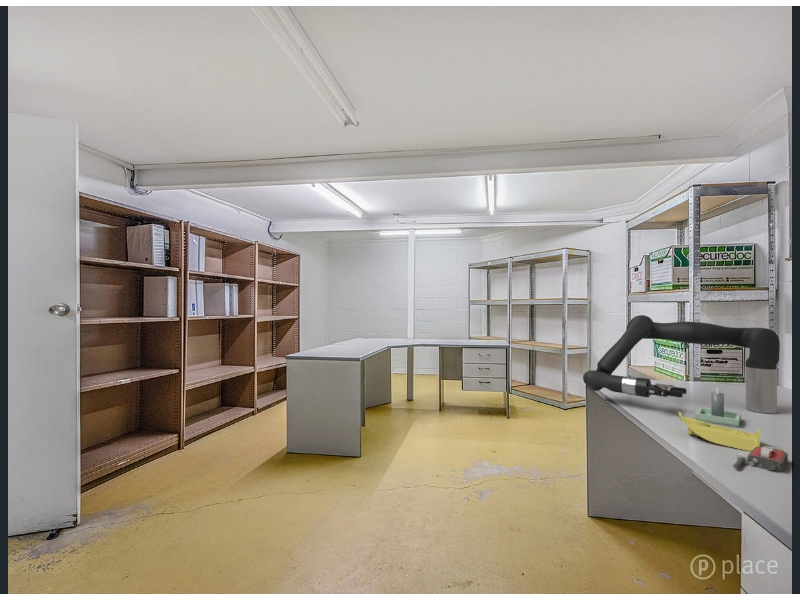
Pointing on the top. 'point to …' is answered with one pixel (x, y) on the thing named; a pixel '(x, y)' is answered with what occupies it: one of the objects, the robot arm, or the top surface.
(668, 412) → the top surface
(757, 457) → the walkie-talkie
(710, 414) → the tray
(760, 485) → the top surface
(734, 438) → the plastic component
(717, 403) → the grey bottle white cap
